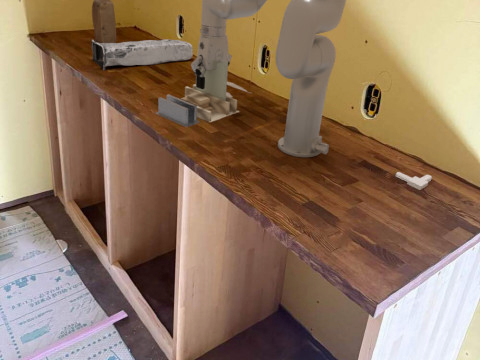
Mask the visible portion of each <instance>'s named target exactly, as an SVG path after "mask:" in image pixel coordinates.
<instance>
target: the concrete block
mask: <svg viewBox="0 0 480 360" xmlns="http://www.w3.org/2000/svg"><path fill="white" fill-rule="evenodd" d="M193 48H194V47H193V45H192V44H191V43H189V42H187V41H184V40H180V39H170V38H169V39H160V40H158V39H157V40H156V39H155V40H152V39H148V40H146V39H145V40H140V41H125V42H124V41H122V42H119V43H117V42H116V43H96V42H95V39H91V50H92V61H93V62H95V64H97V65H98V66H99V67H100V68H101V69H102V71H106V67H111V66H112V67H113V66H126V67H127V66H128V67H129V66H130V67H131V66H132V67H133V66H136V65H138V66H140V65H141V66H147V65H148V66H149V65H159V64H162V63H168V62H180V61H187V60H191V59H193V53H194V49H193ZM92 61H91V62H92Z"/></svg>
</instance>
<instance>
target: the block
mask: <svg viewBox="0 0 480 360" xmlns="http://www.w3.org/2000/svg"><path fill="white" fill-rule="evenodd" d="M115 12H116V11H115V5H114V2H113V1H112V0H93V1H92V6H91V18H92V26H93V31H94V41H95V42H96V43H117V27H116V26H117V24H116V14H115Z"/></svg>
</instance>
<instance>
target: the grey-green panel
mask: <svg viewBox="0 0 480 360" xmlns="http://www.w3.org/2000/svg"><path fill="white" fill-rule="evenodd" d="M197 67H198V66H197ZM202 70H203V69H201V72H202ZM228 70H229V66H228V64H227V63H223V62H217V69H215V70H211V71H208V70H207V71H206V73H205V74H204V77H205V88H204V89H200V88H197V87H196V90H198V91H201V92H203V93H206V94H209V95H211V96H214V97H216V98H219V99H222V100H224V101H226V92H227V86H228V85H227V82H228V72H229V71H228Z"/></svg>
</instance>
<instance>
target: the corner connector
mask: <svg viewBox="0 0 480 360" xmlns="http://www.w3.org/2000/svg"><path fill="white" fill-rule="evenodd" d="M395 177H396V178H399V180H402V181H405V182H407V183H406V185H408V186H410V187H412V188H415V189H417V190H419V191H420V190H421V191H422V190H423V189H424V188H426V187H428V185H429V183H430V182H431V181H432V175H430V174H425V175H423V176H422V177H418V176H416V175H415V176H413V177H412V176H409V175H407V174H405V173H403V172H400V171H398V172H396V173H395Z"/></svg>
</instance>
